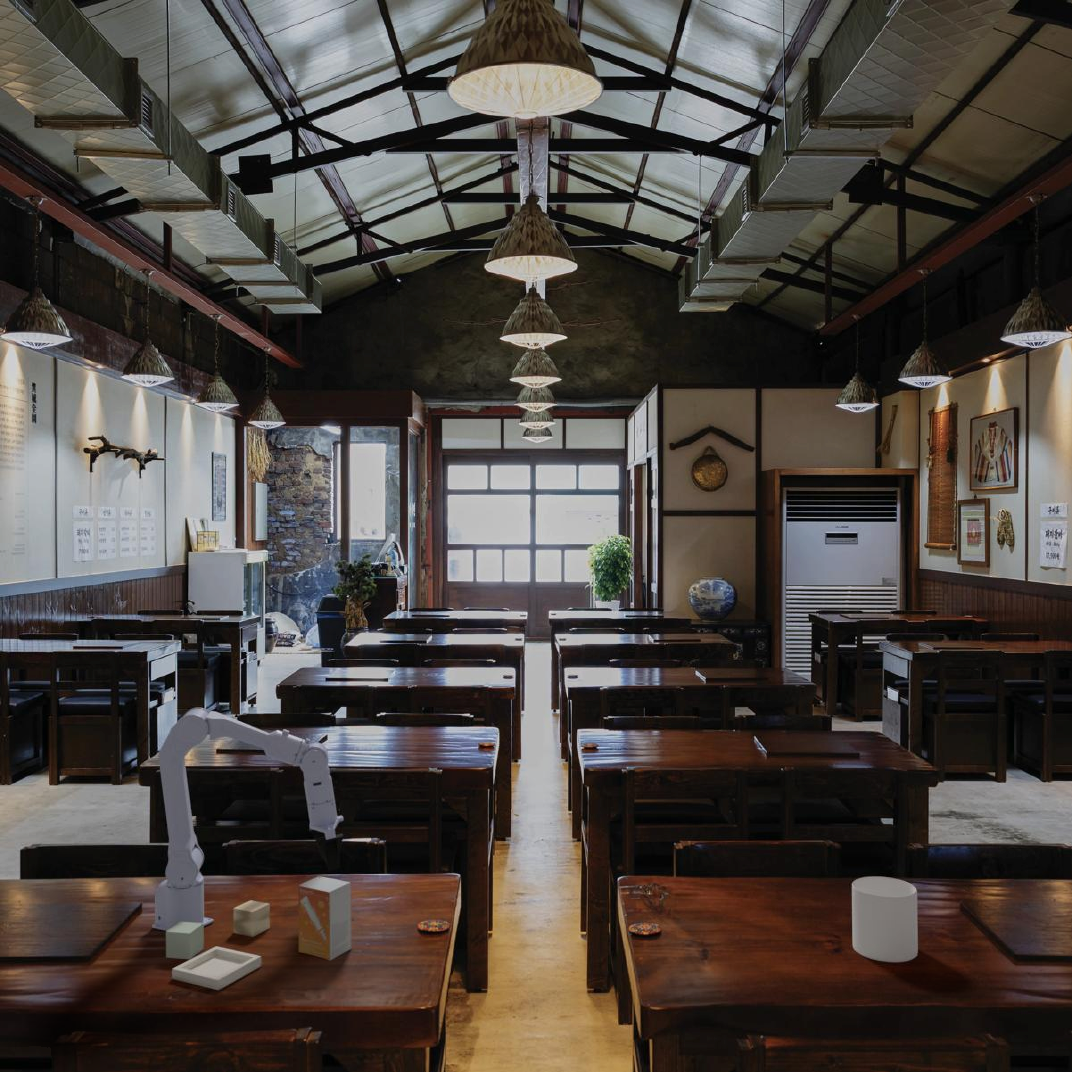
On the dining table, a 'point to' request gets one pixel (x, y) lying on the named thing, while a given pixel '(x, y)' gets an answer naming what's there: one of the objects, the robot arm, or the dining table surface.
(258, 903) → the maple cube
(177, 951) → the sage cube
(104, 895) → the dining table surface
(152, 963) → the dining table surface
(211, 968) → the tray
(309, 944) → the small box
